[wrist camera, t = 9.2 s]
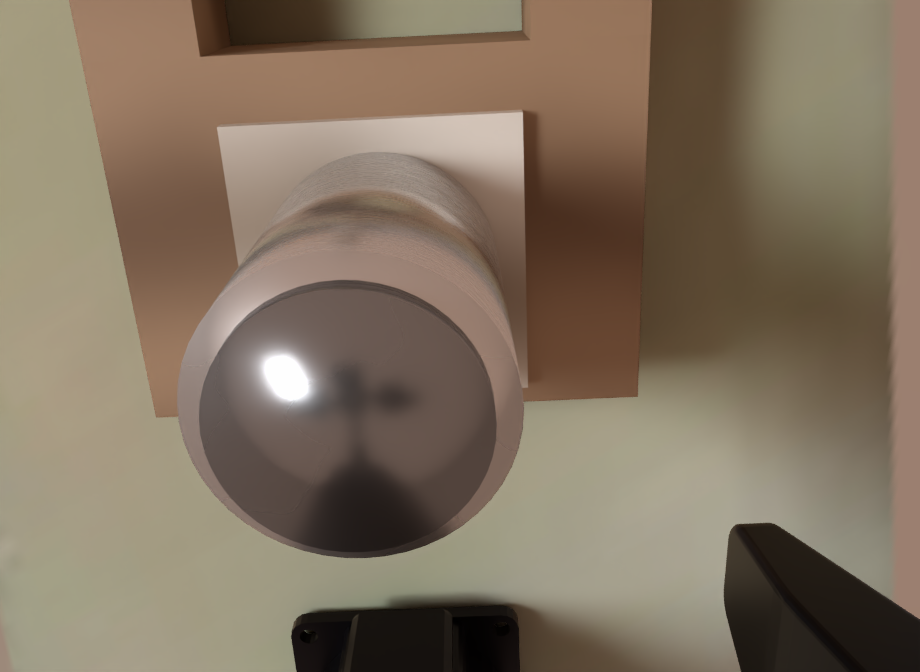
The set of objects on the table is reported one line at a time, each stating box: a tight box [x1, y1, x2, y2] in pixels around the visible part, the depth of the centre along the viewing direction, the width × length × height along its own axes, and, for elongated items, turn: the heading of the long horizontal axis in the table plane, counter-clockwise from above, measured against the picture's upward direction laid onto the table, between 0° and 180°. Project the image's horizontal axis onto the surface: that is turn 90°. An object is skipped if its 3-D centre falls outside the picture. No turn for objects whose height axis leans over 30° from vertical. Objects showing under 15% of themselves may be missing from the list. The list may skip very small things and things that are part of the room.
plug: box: [177, 152, 524, 558], centre depth 15 cm, size 5×5×7 cm
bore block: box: [69, 0, 652, 417], centre depth 18 cm, size 16×11×3 cm
